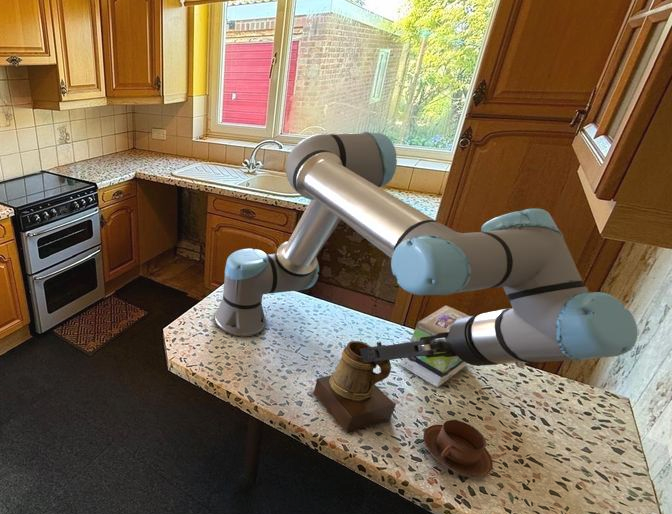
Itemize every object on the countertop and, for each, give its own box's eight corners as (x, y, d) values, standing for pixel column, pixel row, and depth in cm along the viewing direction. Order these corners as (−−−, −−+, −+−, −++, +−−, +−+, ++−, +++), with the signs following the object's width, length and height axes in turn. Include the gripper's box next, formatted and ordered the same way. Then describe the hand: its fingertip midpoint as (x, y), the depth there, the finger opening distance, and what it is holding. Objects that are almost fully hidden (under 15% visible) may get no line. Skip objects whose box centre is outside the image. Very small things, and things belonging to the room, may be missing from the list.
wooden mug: (379, 420, 85) (403, 355, 77) (322, 384, 95) (337, 322, 86) (398, 400, 90) (422, 337, 82) (341, 367, 100) (358, 308, 91)
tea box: (438, 389, 100) (459, 342, 93) (399, 365, 108) (415, 321, 101) (466, 366, 107) (487, 322, 100) (428, 346, 115) (444, 303, 108)
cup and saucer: (484, 494, 76) (497, 473, 73) (414, 455, 83) (423, 435, 81) (493, 453, 84) (504, 433, 81) (428, 421, 91) (437, 401, 88)
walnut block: (313, 393, 99) (317, 378, 96) (353, 383, 102) (358, 368, 99) (346, 432, 88) (351, 416, 86) (390, 420, 92) (396, 404, 89)
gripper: (426, 375, 56) (342, 379, 76) (569, 353, 61) (453, 362, 80) (410, 323, 59) (332, 339, 79) (548, 305, 63) (441, 325, 83)
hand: (393, 351), depth 80 cm, fingers open, 13 cm apart
